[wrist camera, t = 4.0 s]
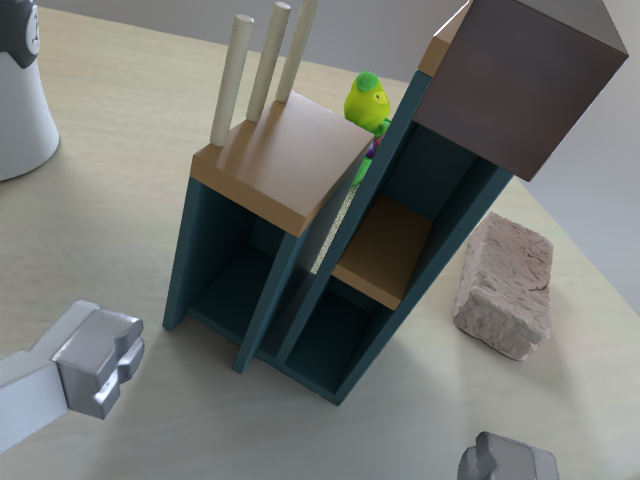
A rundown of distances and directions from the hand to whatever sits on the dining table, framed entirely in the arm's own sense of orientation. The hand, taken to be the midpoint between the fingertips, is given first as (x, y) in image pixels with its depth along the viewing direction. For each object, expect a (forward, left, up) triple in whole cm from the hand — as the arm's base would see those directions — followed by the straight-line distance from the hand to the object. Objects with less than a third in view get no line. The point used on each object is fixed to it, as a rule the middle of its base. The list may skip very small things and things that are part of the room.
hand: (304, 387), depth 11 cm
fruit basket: (+21, +42, -22) cm, 52 cm away
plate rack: (+8, +18, -22) cm, 29 cm away
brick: (+33, +22, -22) cm, 45 cm away
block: (+10, +13, +4) cm, 17 cm away
